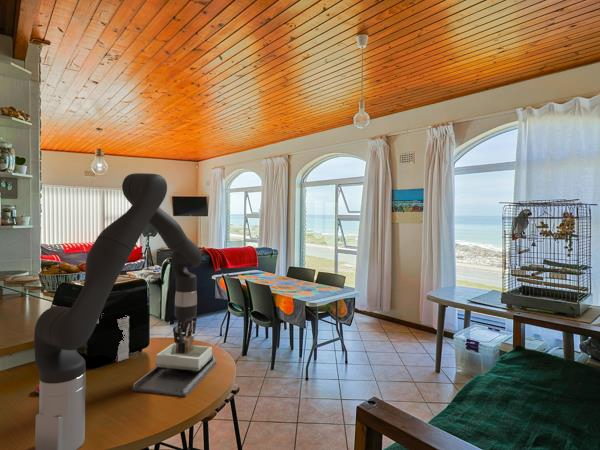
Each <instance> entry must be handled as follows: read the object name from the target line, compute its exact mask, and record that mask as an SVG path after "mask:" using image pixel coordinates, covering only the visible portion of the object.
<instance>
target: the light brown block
mask: <svg viewBox="0 0 600 450" xmlns="http://www.w3.org/2000/svg"><path fill="white" fill-rule="evenodd" d="M182 338H183V336H182ZM177 339H178V337H177ZM194 339H195V336H194V335H193V336H186V339H185V353H183V354H189V353H190V352H191V351H193V348H194V344H195V343H194ZM175 344H176V353H178V343H175ZM178 354H181V353H178Z"/></svg>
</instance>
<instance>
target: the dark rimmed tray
mask: <svg viewBox="0 0 600 450" xmlns="http://www.w3.org/2000/svg"><path fill="white" fill-rule="evenodd" d="M216 360H217V359H216V358H215V353H212V358H211V359H210V360H209V361H208V362H207V363H206V364H205V365H204V366H203V367H202V368H201V369H200V370H199V371H197V372H196V373H193V372H192V371H191V370H185V369H175V368H167V369H166V370H163V369H162V367H156V366H154V368H152V369H151V370H149V371H148V372H147V373H146V374H144V375H143V376H142V377H140V379H139V378H138V379H137V381H135V382H134V383H133V384H132V388H131V389H132V391H134V392H141V393H150V394H159V395H169V396H177V397H188V395H189V394H190V393H191V392H192V391H193V390H194V388H195V387H197V386H198V384H200V383H201V381H202V380H203V379H204V378H205V377H206V376H207V375H208V374H209V372H210V371H212V369H214V367H216V365H217V361H216Z"/></svg>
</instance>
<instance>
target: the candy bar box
mask: <svg viewBox="0 0 600 450" xmlns="http://www.w3.org/2000/svg"><path fill="white" fill-rule="evenodd" d="M126 316H127V317H123V318H120V319H117V323H118V327H119V329H120V330H123V332H122V334H123V337H124V338H123V337H122V338H123V340H124V341H123V340H121V341H120V342H119V343H120V344H119V346H118V350H117V356H116V359H115V361H114V362H116V363H118V362H119V361H120V362H123V361H124V360H129V358H130V356H129V355H130V353H129V352H130V316H128V315H126ZM124 335H125V336H124Z"/></svg>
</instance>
